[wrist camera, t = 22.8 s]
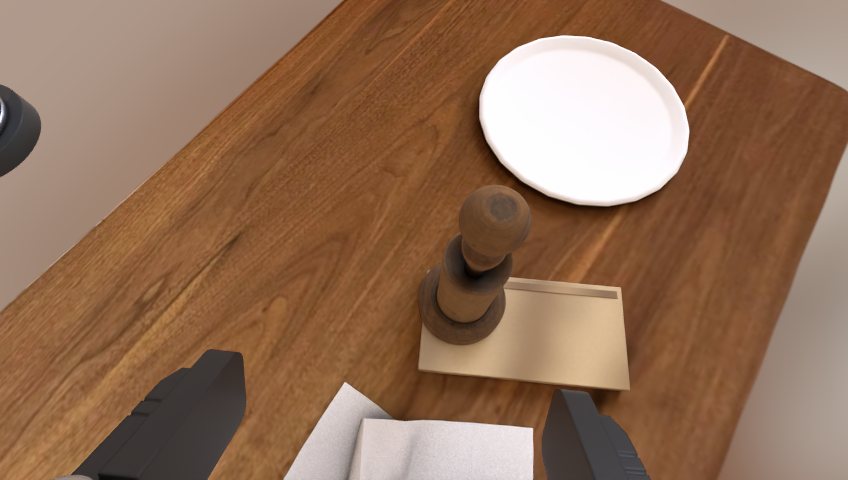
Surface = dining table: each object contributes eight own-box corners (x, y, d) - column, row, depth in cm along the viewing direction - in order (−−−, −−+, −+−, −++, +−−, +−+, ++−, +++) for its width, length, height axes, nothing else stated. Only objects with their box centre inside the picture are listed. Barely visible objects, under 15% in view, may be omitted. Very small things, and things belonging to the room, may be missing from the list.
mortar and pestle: (495, 263, 34) (567, 133, 17) (506, 342, 32) (602, 280, 15) (415, 268, 34) (411, 142, 17) (421, 348, 32) (422, 293, 15)
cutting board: (417, 371, 32) (417, 369, 31) (426, 274, 35) (427, 269, 34) (621, 391, 32) (630, 390, 31) (613, 292, 35) (621, 287, 34)
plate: (520, 20, 47) (522, 10, 46) (702, 83, 44) (710, 74, 43) (444, 158, 40) (444, 151, 39) (655, 246, 37) (663, 241, 36)
